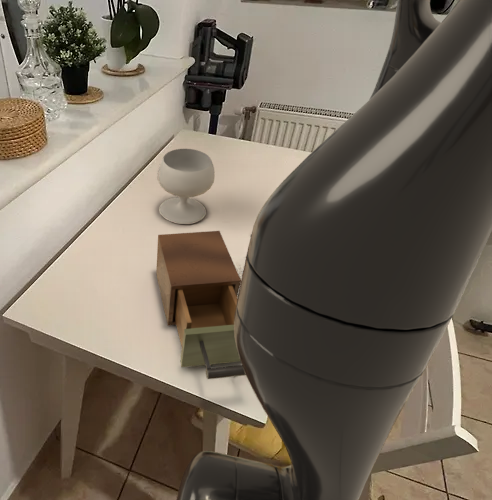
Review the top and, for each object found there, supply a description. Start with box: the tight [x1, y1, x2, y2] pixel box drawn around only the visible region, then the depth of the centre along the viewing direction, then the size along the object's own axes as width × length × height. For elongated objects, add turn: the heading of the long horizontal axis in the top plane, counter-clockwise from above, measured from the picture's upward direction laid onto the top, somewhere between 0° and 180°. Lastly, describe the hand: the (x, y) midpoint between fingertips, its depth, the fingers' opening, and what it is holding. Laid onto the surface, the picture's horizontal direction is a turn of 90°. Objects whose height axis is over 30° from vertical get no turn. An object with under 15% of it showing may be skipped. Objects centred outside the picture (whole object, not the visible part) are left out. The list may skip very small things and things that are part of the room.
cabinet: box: [155, 230, 242, 327], centre depth 85 cm, size 15×13×11 cm
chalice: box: [156, 148, 216, 225], centre depth 107 cm, size 14×14×15 cm
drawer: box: [173, 285, 246, 380], centre depth 75 cm, size 20×12×9 cm, turn 7°
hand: (346, 248), depth 57 cm, fingers open, 8 cm apart
